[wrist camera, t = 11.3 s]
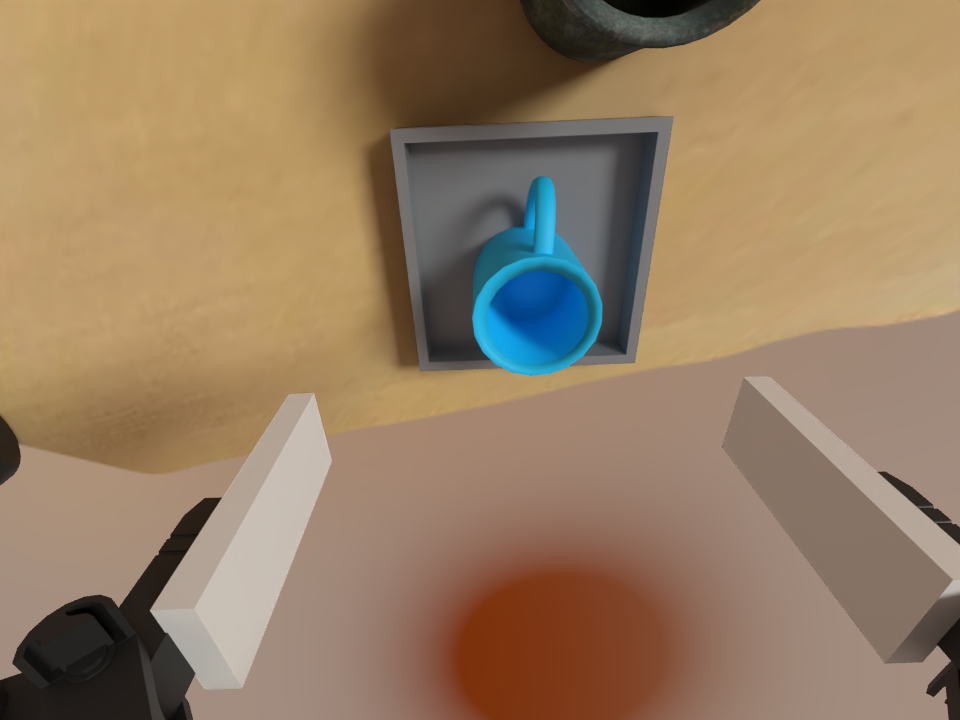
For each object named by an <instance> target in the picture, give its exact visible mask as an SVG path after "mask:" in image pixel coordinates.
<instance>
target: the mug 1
mask: <svg viewBox="0 0 960 720" xmlns="http://www.w3.org/2000/svg"><path fill="white" fill-rule="evenodd" d="M555 214H556V201H555V189H554V185H553V183H552V180H551V179H550V178H548V177H546V176H540V177H537V178H536V179H534V180H533V181H532V183H531V186H530V189H529V192H528V197H527V202H526V209H525V216H524V224H523V225H522V226H513V227H511V228H509V229H507V230H504V231H502V232H500V233H498V234H496V235H495V236H494V237H493V238H492V239H491V240H490V241H489V242H488V243H487V244H485V246H484V247H483V249H482V251H481V252H480V254H479V256H478V258H477V259H476V264H475V269H474V274H473V308H472V319H473V327H474V335H475V338H476V340H477V342H478V344H479V346H480V347H481V349H482V351H483V353H484V354H485V355H486V356H488V357H489V358H490V359H491V360H492V361H493V362H494V363H495V364H496V365H498V366H500V367H502V368H504V369H506V370H508V371H510V372H512V373H518V374H523V375H529V376H533V375H544V374H551V373H553V372H556V371H559V370H561V369H564V368H567V367H568V366H570V365H571V364H573V363H574V362H575V361H577V360H578V359H580V358H581V357H582V356H584V354H585V353H586V352H587V350H588V349H589V348H590V347H591V345H592V344H593V343H594V342H595V340H596V337H597V334H598V332H599V329H600V326H601V324H602V302H601V299H600V296H599V293H598V290H597V287H596V285H595V284H594V282H593V281H592V279H591V278H590V276H589V275H588V273H587V272H586V270H585V269H584V268H583V266H582V265H581V263H580V262H579V260H578V259H577V257H576V256H575V254H574V253H573V251H572V250H571V249H570V247H569V246H568V245H567V244H566V242H565V241H564V240H563V239H562V237H561V236H559V235H557V234H556V233H555Z"/></svg>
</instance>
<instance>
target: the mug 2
mask: <svg viewBox="0 0 960 720" xmlns="http://www.w3.org/2000/svg"><path fill="white" fill-rule="evenodd" d="M520 1H521V4H522V7H523V10H524V12H525V15H526V16H527V18H528V20H529V22H530V24H531V26H532V27H533V29H534V30H535V31H536V32H537V34H538V35H539V36H540V38H541V39H542V40H543V41H544V42H546V43H547V44H548V45H549V46H550V47H551V48H553V49H554V50H556V51H557V52H559V53H560V54H562V55H564V56H567V57H569V58H572V59H575V60H580V61H585V62H602V61H607V60H613V59H616V58H618V57H621V56H624V55H627V54H629V53H632V52H635V51H637V50H640V49H643V48H668V47H673V46H679V45H685V44H688V43H691V42H693V41H696V40H699V39H702V38H705V37H707V36H709V35H711V34H713V33H715V32H717V31H719V30H721V29H723V28H724V27H726V26H728V25H730V24H731V23H732V22H734V21H735V20H737V19H738V18H739V17H741V16H742V15H744V14H745V13H746V12H748V11H749V10H750V9H751V8H753V7H754V6H755V5H756V4H757V3H758V2H759V1H760V0H520Z"/></svg>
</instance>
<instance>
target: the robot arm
mask: <svg viewBox="0 0 960 720" xmlns="http://www.w3.org/2000/svg"><path fill="white" fill-rule="evenodd" d="M722 448H723V449H724V450H725V452H726V453H727V454H728V456H729V457H730V458H731V460H732V461H733V462H734V464H735V465H736V466H737V468H738V469H739V470H740V471H741V473H742V474H743V475H744V477H745V478H746V479H747V481H748V482H749V483H750V485H751V486H752V487H753V489H754V490H755V491H756V493H757V494H758V495H759V497H760V498H761V499H762V501H763V502H764V503H765V505H766V506H767V507H768V508H769V510H770V511H771V513H772V514H773V515H774V517H775V518H776V519H777V521H778V522H779V523H780V524H781V526H782V527H783V529H784V530H785V531H786V533H787V534H788V535H789V536H790V538H791V539H792V541H793V542H794V543H795V545H796V546H797V547H798V549H799V550H800V551H801V553H802V554H803V555H804V557H805V558H806V559H807V560H808V562H809V563H810V564H811V566H812V567H813V568H814V570H815V571H816V573H817V574H818V575H819V576H820V578H821V579H822V580H823V582H824V583H825V584H826V586H827V587H828V588H829V590H830V591H831V592H832V594H833V595H834V596H835V598H836V599H837V600H838V602H839V603H840V604H841V605H842V607H843V608H844V610H845V611H846V612H847V614H848V615H849V616H850V618H851V619H852V620H853V622H854V623H855V624H856V626H857V627H858V628H859V630H860V631H861V632H862V634H863V635H864V636H865V638H866V639H867V640H868V642H869V643H870V644H871V646H872V647H873V648H874V650H875V651H876V652H877V654H878V655H879V656H880V658H881V659H882V660H883V662H884V663H909V662H910V663H912V662H923V661H924V660H925V659H926V657H927V656H928V655H929V654H930V653H931V652H932V651H933V650H934V648H935V647H936V646H937V645H938V646H939V647H940V648H941V649H942V651H943V652H944V653H945V654H946V655H947V656H948V658H949V659H950V660H951V662H950V663H949V664H948V665H947V666H946V667H945V668H944V669H943V670H942V671H941V672H940V673H939V674H938V675H937V676H936V677H935V679H933V681H932V682H931V683H930V684H929V685H928V688H927V692H926V693H927V694H929V695H931V696H933V697H934V696H935V695H936V694H937V693H938V692H939V691H940V690H941V689H942V688H943V687H945V686H946V693H947V699H946V700H945V703H946V704H947V706H948V717H949V720H960V527H959V526H957V525H956V524H952V523H951V520H950V519H949V518H948V517H947V516H946V515H944V514H943V513H942V512H941V511H940V510H939V509H934V507H933V504H931V503H930V502H929V501H928V500H927V499H926V498H924V497H923V496H922V495H921V494H919V493H918V492H917V491H916V490H915V489H914V488H913V487H911V486H909V485H908V484H906V483H904V482H902V481H901V480H899V479H897V478H895V477H894V476H892V475H890V474H888V473H887V472H876V471H875V470H874V469H873V468H872V467H871V466H870V465H869V464H867V463H866V462H865V461H864V460H863V459H862V458H861V457H860V456H859V455H857V454H856V453H855V452H854V451H853V450H852V449H851V448H849V447H848V446H847V445H846V444H845V443H844V442H843V441H841V440H840V439H839V438H838V437H837V436H836V435H835V434H834V433H832V432H831V431H830V430H829V429H828V428H827V427H826V426H824V425H823V424H822V423H821V422H820V421H819V420H818V419H816V418H815V417H814V416H813V415H812V414H811V413H810V412H809V411H808V410H806V409H805V408H804V407H803V406H802V405H801V404H799V403H798V402H797V401H796V400H795V399H794V398H793V397H792V396H791V395H790V394H788V393H787V392H786V391H785V390H784V389H783V388H782V387H780V386H779V385H778V384H777V383H776V382H775V381H774V380H773V379H771V378H770V377H769V376H766V377H744V378H743V382H742V385H741V388H740V391H739V394H738V397H737V401H736V404H735V407H734V410H733V413H732V416H731V420H730V423H729V426H728V429H727V432H726V435H725V438H724V442H723V445H722ZM20 457H21V456H20V449H19V445H18V443H17V440H16V438H15V436H14V434H13V433H12V431H11V430H10V428H9V427H8V425H7V424H6V423H5V422H4V420H3V419H2V418H1V417H0V485H1V484H3V483H4V482H5V481H6V480H8V479H9V478H10V477H11V476H13V475H14V474H15V472H16V471H17V469H18V467H19V464H20ZM331 462H332V460H331V456H330V452H329V448H328V444H327V441H326V437H325V433H324V429H323V426H322V422H321V418H320V414H319V410H318V407H317V403H316V399H315V395H314V393H301V394H288V396H287V397H286V399H285V401H284V402H283V404H282V405H281V407H280V408H279V410H278V411H277V413H276V415H275V416H274V418H273V419H272V421H271V422H270V424H269V426H268V427H267V429H266V430H265V432H264V433H263V435H262V436H261V438H260V440H259V441H258V443H257V444H256V446H255V447H254V449H253V450H252V452H251V454H250V455H249V457H248V458H247V460H246V461H245V463H244V464H243V466H242V468H241V469H240V471H239V472H238V474H237V475H236V477H235V479H234V480H233V482H232V483H231V485H230V486H229V488H228V489H227V491H226V492H225V494H224V496H223V497H222V498H204V499H203V500H202V501H201V502H200V503H198V504H197V505H196V506H195V507H194V508H192V509H191V510H190V511H189V512H188V513H187V514H185V515H184V517H183V518H182V519H181V521H180V522H179V524H178V525H177V526H176V528H175V529H174V531H173V532H172V533H171V537H170V539H167V540H166V542H165V543H164V545H163V546H162V548H161V549H160V550H159V555H157V556H155V558H154V559H153V560H152V562H151V563H150V564H149V566H148V567H147V569H146V570H145V572H144V573H143V575H142V576H141V577H140V579H139V580H138V581H137V583H136V584H135V586H134V587H133V588H132V590H131V591H130V593H129V594H128V596H127V597H126V598H125V600H124V601H123V603H122V604H121V605H120V607H119V608H118V606H117V605H116V604H115V602H113V600H112V599H111V598H109V597H106V596H103V595H94V596H87V597H83V598H80V599H78V600H75V601H73V602H70V603H68V604H65V605H64V606H62V607H61V608H59V609H57V610H56V611H54V612H53V613H51V614H50V615H48V616H46V617H45V618H44V619H43V620H42V621H41V622H40V623H39V624H38V625H36V626H35V627H34V628H33V629H32V630H31V631H30V632H29V633H28V634H27V636H26V637H25V639H24V640H23V641H22V643H21V644H20V645H19V647H18V648H17V651H16V654H15V657H14V660H13V665H15V666H16V667H17V668H18V669H19V670H20V671H21V672H22V673H20V674H17V675H14V676H11V677H8V678H5V679H3V680H0V720H193V717H192V713H191V709H190V705H189V702H188V701H187V699H186V698H185V694H186V692H187V690H188V688H189V686H190V684H191V682H192V680H193V678H194V676H196V678H197V679H198V681H199V682H200V684H201V685H202V686H203V688H204V689H205V690H206V689H233V688H243V685H244V682H245V680H246V677H247V675H248V672H249V670H250V667H251V665H252V662H253V660H254V657H255V655H256V652H257V650H258V647H259V645H260V642H261V639H262V637H263V634H264V632H265V629H266V627H267V624H268V621H269V619H270V617H271V614H272V612H273V609H274V606H275V604H276V601H277V599H278V596H279V594H280V591H281V589H282V586H283V584H284V581H285V579H286V576H287V573H288V571H289V568H290V566H291V564H292V561H293V558H294V556H295V553H296V551H297V548H298V546H299V543H300V541H301V538H302V536H303V533H304V530H305V528H306V526H307V523H308V520H309V518H310V515H311V513H312V510H313V508H314V505H315V503H316V500H317V497H318V495H319V493H320V490H321V487H322V485H323V482H324V480H325V477H326V475H327V472H328V470H329V467H330V464H331Z"/></svg>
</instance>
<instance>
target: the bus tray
mask: <svg viewBox="0 0 960 720" xmlns="http://www.w3.org/2000/svg"><path fill="white" fill-rule="evenodd" d="M672 124H673V117H671V116H647V117H626V118H604V119H582V120H560V121H538V122H516V123H494V124H472V125H450V126H428V127H406V128H394V129H390V138H391V146H392V154H393V162H394V169H395V177H396V185H397V193H398V201H399V209H400V217H401V225H402V233H403V241H404V249H405V256H406V264H407V272H408V280H409V288H410V296H411V304H412V312H413V320H414V328H415V336H416V343H417V351H418V359H419V367H420V371H438V370H464V369H491V368H502V367H500V366H498V365H496V364H495V363H494V362H493V361H492V360H491V359H490V358H489V357H488V356H486V355H485V354H484V353H483V351H482V349H481V347H480V346H479V344H478V342H477V340H476V338H475V335H474V327H473V319H472V308H473V274H474V269H475V264H476V259H477V258H478V256H479V254H480V252H481V251H482V249H483V247H484V246H485V244H487V243H488V242H489V241H490V240H491V239H492V238H493V237H494V236H495V235H496V234H498V233H500V232H502V231H504V230H507V229H509V228H511V227H513V226H522V225H523V224H524V216H525V209H526V202H527V197H528V192H529V189H530V186H531V183H532V181H533V180H534V179H536V178H537V177H540V176H546V177H548V178H550V179H551V180H552V183H553V185H554V189H555V201H556V214H555V233H556V234H557V235H559V236H561V237H562V239H563V240H564V241H565V242H566V244H567V245H568V246H569V247H570V249H571V250H572V251H573V253H574V254H575V256H576V257H577V259H578V260H579V262H580V263H581V265H582V266H583V268H584V269H585V270H586V272H587V273H588V275H589V276H590V278H591V279H592V281H593V282H594V284H595V285H596V287H597V290H598V293H599V296H600V299H601V302H602V324H601V326H600V329H599V332H598V334H597V337H596V340H595V342H594V343H593V344H592V345H591V347H590V348H589V349H588V350H587V352H586V353H585V354H584V356H582V357H581V358H580V359H578V360H577V361H575V362H574V363H573V364H571V365H597V364H623V363H635V359H636V352H637V346H638V340H639V333H640V327H641V321H642V314H643V308H644V302H645V295H646V289H647V282H648V276H649V270H650V263H651V257H652V251H653V244H654V238H655V232H656V225H657V219H658V213H659V206H660V200H661V194H662V187H663V181H664V174H665V168H666V162H667V155H668V149H669V143H670V136H671V130H672Z"/></svg>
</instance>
